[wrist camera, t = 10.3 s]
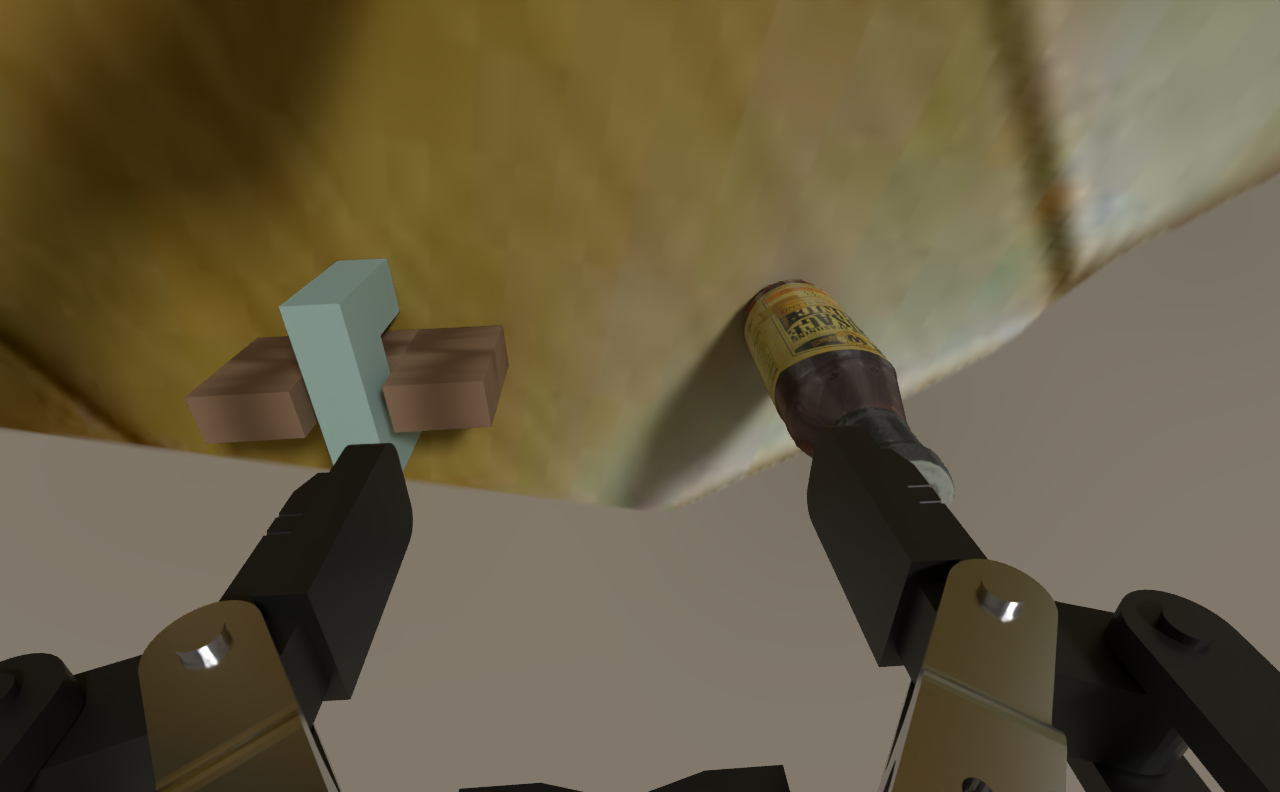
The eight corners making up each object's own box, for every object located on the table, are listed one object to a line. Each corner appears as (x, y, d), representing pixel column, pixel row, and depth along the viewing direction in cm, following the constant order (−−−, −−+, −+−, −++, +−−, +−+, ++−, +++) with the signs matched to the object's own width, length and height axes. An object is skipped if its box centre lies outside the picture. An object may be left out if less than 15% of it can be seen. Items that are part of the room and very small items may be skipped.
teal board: (337, 260, 37) (278, 306, 30) (386, 258, 37) (339, 303, 30) (384, 424, 43) (343, 494, 36) (426, 421, 43) (393, 490, 36)
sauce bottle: (842, 285, 40) (1031, 453, 23) (808, 366, 43) (952, 570, 26) (751, 263, 39) (878, 424, 22) (722, 348, 42) (813, 550, 25)
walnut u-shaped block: (272, 378, 41) (205, 443, 34) (257, 338, 39) (184, 397, 32) (508, 365, 41) (491, 426, 34) (502, 325, 40) (483, 380, 33)
